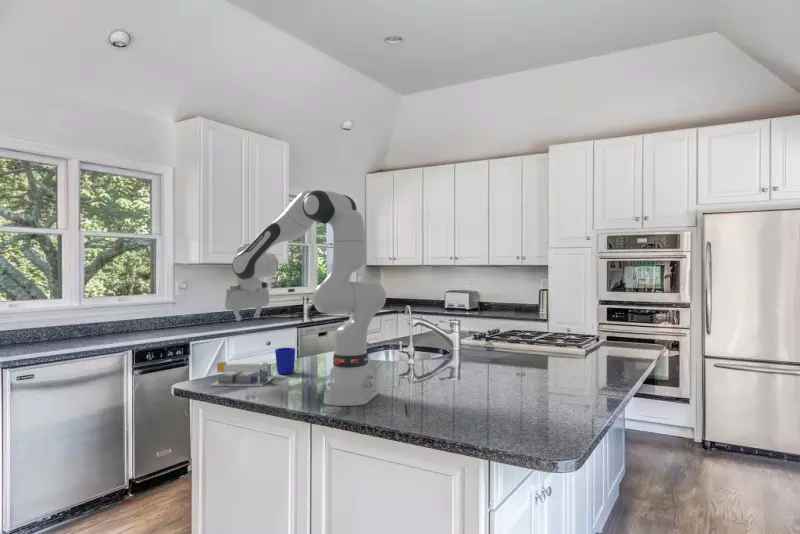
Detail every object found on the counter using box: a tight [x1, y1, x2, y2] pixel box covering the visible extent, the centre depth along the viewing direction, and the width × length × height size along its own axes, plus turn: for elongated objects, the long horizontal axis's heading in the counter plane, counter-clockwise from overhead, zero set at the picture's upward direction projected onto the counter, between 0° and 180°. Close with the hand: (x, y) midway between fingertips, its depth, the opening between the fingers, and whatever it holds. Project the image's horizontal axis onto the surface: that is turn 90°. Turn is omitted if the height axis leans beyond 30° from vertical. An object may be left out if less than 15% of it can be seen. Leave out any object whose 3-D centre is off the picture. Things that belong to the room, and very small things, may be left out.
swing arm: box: [216, 361, 269, 373], centre depth 199 cm, size 3×19×4 cm, turn 86°
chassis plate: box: [210, 371, 275, 387], centre depth 199 cm, size 14×20×4 cm
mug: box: [274, 347, 296, 375], centre depth 216 cm, size 8×12×10 cm
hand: (247, 319), depth 205 cm, fingers open, 8 cm apart
